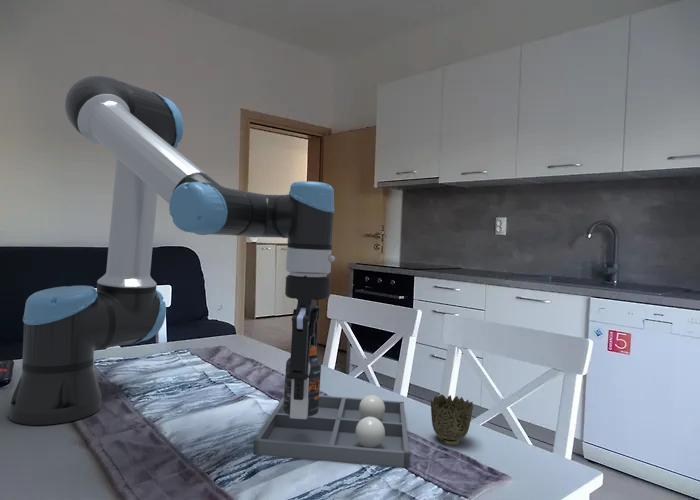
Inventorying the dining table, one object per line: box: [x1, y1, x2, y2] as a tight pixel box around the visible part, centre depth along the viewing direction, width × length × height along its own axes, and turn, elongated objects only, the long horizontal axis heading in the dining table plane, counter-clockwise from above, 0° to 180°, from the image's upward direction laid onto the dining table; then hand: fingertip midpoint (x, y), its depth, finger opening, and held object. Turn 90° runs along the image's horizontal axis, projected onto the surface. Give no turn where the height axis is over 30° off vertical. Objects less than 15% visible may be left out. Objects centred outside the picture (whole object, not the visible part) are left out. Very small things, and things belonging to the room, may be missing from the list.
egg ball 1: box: [359, 394, 385, 420], centre depth 93 cm, size 5×5×5 cm
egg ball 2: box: [355, 417, 385, 448], centre depth 81 cm, size 5×5×5 cm
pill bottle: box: [283, 345, 322, 417], centre depth 82 cm, size 6×6×11 cm
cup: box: [430, 394, 474, 446], centre depth 86 cm, size 8×7×8 cm
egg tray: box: [252, 394, 411, 469], centre depth 88 cm, size 24×24×3 cm
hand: (301, 410), depth 82 cm, fingers closed on pill bottle, 6 cm apart
